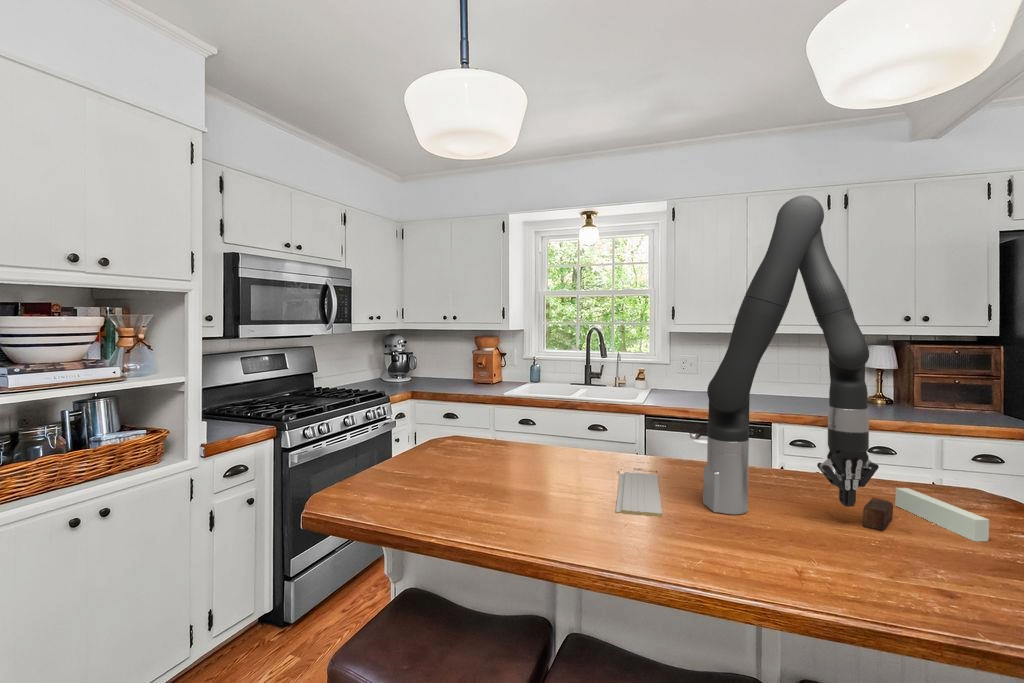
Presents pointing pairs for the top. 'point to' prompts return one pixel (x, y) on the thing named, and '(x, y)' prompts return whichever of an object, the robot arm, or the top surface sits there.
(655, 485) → the baseboard molding
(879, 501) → the brick
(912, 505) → the board
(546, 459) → the top surface
